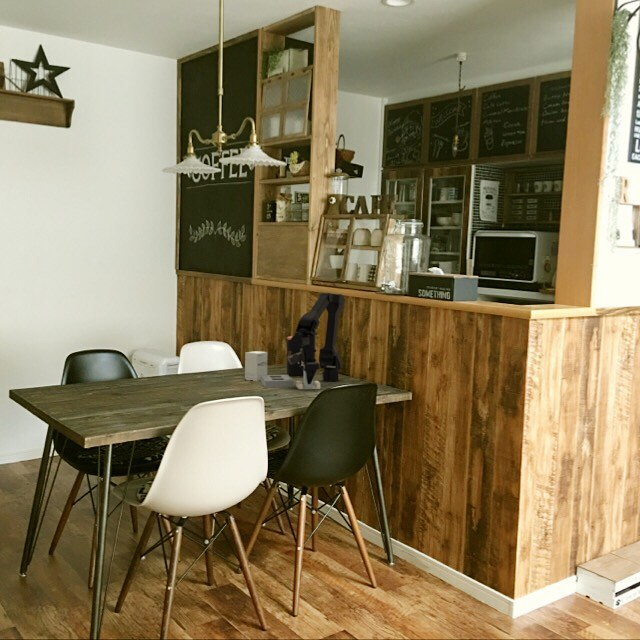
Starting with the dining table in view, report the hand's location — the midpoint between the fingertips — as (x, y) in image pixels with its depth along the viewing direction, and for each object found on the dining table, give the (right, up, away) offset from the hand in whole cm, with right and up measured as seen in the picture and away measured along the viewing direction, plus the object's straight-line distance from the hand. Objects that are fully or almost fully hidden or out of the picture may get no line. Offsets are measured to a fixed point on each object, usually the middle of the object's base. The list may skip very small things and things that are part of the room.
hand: (308, 383), depth 307 cm
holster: (0, -2, 0) cm, 2 cm away
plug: (0, -2, 0) cm, 2 cm away
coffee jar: (-5, 0, +39) cm, 39 cm away
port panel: (-14, -2, +8) cm, 16 cm away
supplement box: (-24, -1, +24) cm, 34 cm away
